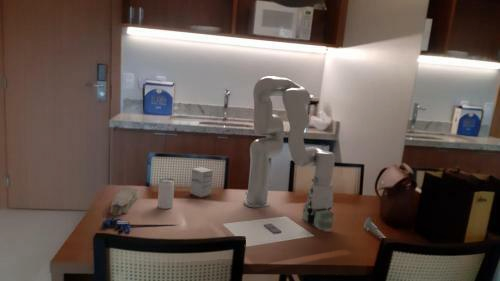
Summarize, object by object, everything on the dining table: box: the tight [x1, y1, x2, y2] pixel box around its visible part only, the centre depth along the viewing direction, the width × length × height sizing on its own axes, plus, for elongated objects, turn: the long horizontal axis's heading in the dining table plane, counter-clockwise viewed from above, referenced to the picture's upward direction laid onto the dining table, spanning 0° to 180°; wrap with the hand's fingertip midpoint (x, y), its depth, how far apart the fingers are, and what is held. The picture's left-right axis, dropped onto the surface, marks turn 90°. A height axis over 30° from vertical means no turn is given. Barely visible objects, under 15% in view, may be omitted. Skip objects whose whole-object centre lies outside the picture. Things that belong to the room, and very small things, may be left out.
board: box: [222, 215, 315, 247], centre depth 147 cm, size 20×30×2 cm, turn 119°
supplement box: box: [189, 166, 214, 198], centre depth 183 cm, size 7×7×13 cm
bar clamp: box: [102, 217, 180, 234], centre depth 142 cm, size 32×2×10 cm
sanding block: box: [301, 203, 335, 233], centre depth 158 cm, size 12×6×8 cm, turn 29°
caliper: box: [363, 216, 387, 239], centre depth 151 cm, size 20×1×6 cm, turn 17°
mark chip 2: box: [269, 228, 282, 234], centre depth 146 cm, size 4×4×1 cm
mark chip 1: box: [264, 224, 276, 230], centre depth 149 cm, size 4×4×1 cm
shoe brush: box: [109, 186, 138, 216], centre depth 161 cm, size 24×8×5 cm, turn 5°
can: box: [157, 177, 175, 210], centre depth 163 cm, size 6×6×12 cm
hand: (316, 221), depth 158 cm, fingers closed on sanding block, 6 cm apart
